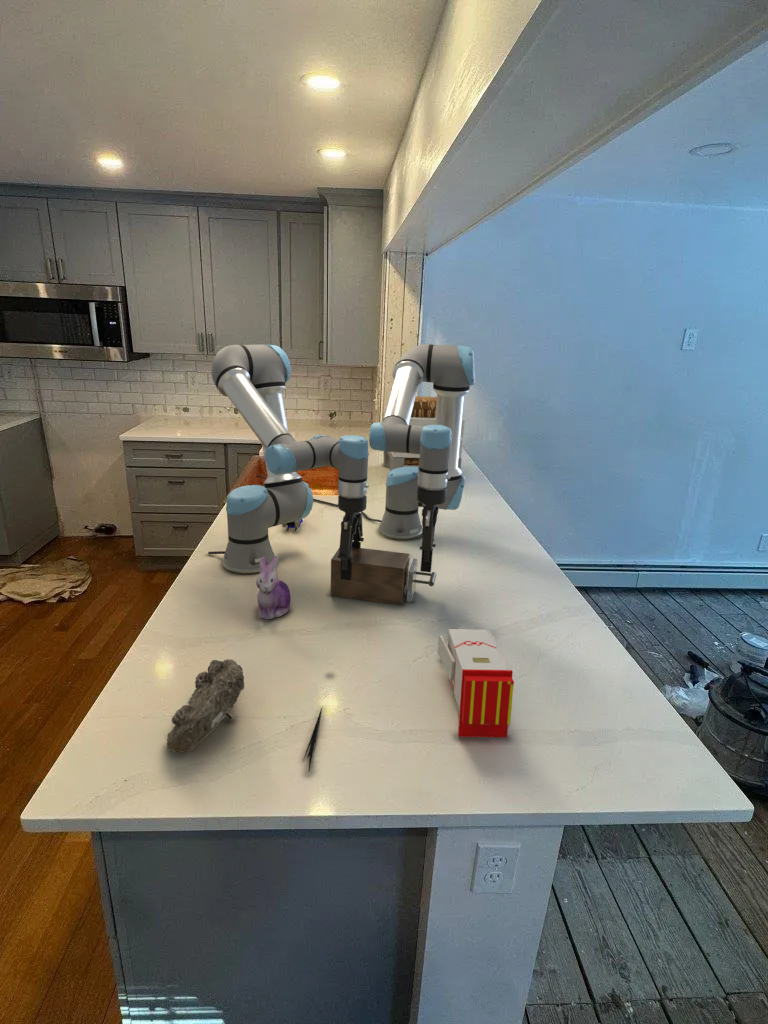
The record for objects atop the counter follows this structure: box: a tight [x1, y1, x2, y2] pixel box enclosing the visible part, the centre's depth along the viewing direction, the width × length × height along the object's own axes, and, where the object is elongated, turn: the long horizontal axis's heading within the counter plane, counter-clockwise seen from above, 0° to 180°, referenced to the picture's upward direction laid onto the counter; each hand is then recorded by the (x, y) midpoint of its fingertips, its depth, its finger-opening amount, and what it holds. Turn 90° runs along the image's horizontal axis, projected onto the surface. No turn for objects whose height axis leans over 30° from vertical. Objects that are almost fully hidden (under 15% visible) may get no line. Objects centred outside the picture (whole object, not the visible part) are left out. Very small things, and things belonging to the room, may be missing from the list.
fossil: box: [166, 658, 245, 754], centre depth 106 cm, size 22×10×15 cm
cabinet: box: [330, 546, 410, 606], centre depth 156 cm, size 20×10×11 cm, turn 79°
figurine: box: [255, 555, 292, 620], centre depth 143 cm, size 9×10×15 cm
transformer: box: [383, 395, 465, 472], centre depth 268 cm, size 34×33×41 cm
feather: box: [301, 673, 332, 771], centre depth 108 cm, size 2×28×2 cm
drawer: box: [403, 557, 437, 603], centre depth 156 cm, size 24×9×9 cm, turn 79°
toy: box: [437, 628, 515, 738], centre depth 117 cm, size 12×13×30 cm
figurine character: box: [281, 519, 304, 532], centre depth 201 cm, size 7×8×15 cm
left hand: (350, 570), depth 157 cm, fingers closed on cabinet, 10 cm apart
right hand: (425, 570), depth 152 cm, fingers closed
